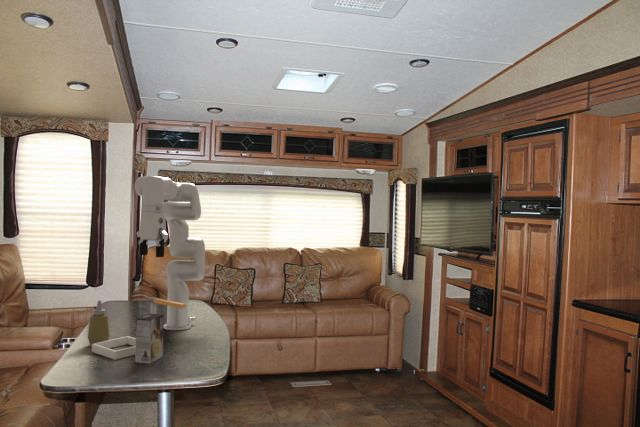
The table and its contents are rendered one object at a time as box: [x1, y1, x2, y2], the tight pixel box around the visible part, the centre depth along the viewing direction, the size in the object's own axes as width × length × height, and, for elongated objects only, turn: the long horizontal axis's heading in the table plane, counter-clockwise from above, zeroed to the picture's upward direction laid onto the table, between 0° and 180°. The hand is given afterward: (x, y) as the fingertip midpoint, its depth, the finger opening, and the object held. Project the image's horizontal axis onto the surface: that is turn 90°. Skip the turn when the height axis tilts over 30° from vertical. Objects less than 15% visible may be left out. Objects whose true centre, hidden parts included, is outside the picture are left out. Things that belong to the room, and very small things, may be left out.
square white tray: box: [91, 302, 158, 361], centre depth 194 cm, size 23×16×17 cm
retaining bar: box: [148, 296, 186, 309], centre depth 197 cm, size 21×3×2 cm, turn 54°
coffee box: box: [134, 313, 165, 364], centre depth 182 cm, size 9×6×16 cm
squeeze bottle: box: [87, 300, 110, 347], centre depth 198 cm, size 8×8×18 cm
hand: (151, 256), depth 181 cm, fingers open, 9 cm apart
